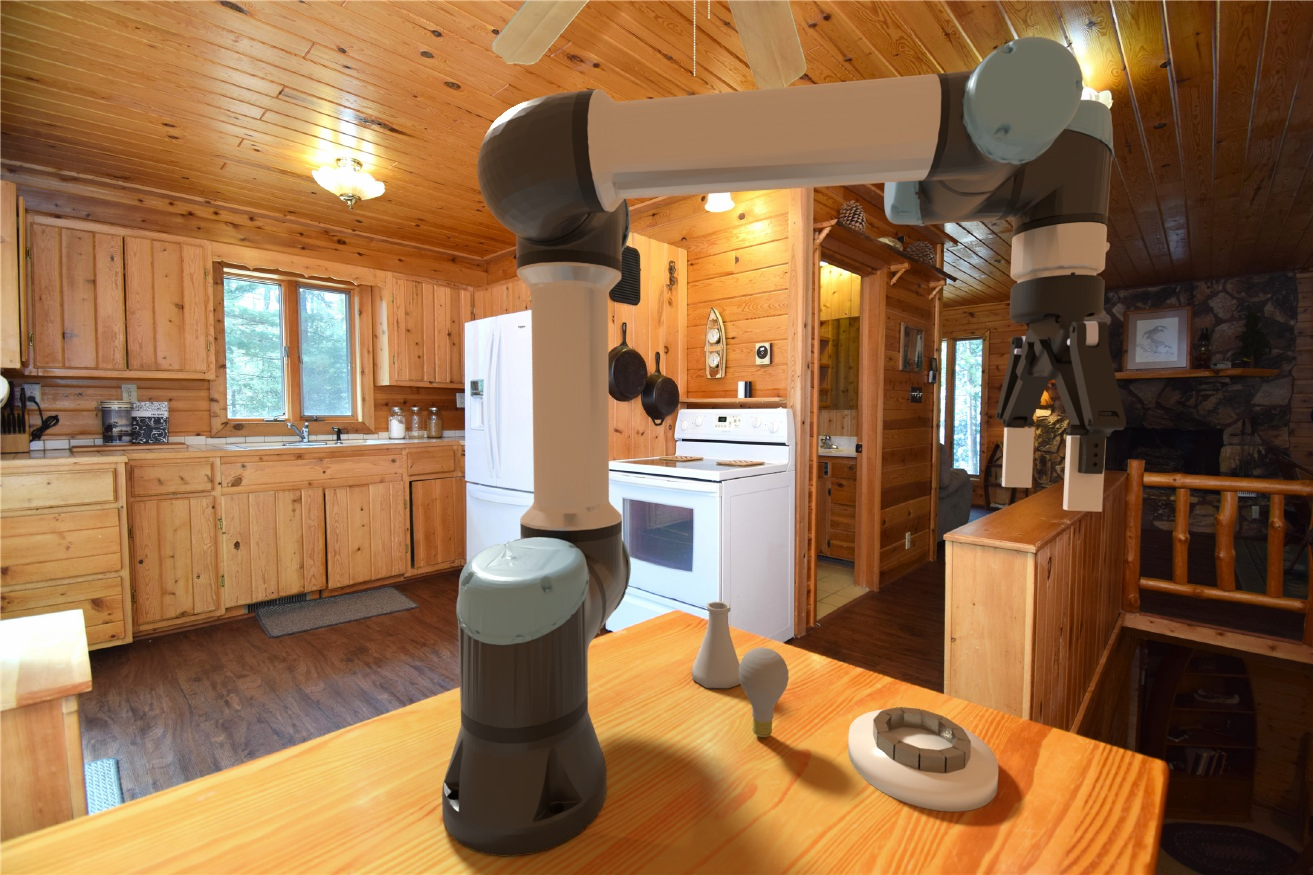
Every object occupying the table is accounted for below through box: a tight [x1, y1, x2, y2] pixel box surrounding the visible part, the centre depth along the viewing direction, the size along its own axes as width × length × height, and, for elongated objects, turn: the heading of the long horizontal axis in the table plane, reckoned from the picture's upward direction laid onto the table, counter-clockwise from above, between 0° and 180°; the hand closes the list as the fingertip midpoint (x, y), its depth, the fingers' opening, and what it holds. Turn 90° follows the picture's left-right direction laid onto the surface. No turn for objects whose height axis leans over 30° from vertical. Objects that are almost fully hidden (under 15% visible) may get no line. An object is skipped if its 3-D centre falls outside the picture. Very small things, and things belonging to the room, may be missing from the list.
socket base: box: [847, 709, 999, 813], centre depth 60 cm, size 14×14×2 cm
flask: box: [691, 601, 741, 689], centre depth 79 cm, size 7×7×10 cm
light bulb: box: [739, 647, 789, 739], centre depth 65 cm, size 5×6×10 cm
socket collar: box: [873, 706, 971, 774], centre depth 60 cm, size 9×9×2 cm
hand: (1045, 497), depth 58 cm, fingers open, 13 cm apart
